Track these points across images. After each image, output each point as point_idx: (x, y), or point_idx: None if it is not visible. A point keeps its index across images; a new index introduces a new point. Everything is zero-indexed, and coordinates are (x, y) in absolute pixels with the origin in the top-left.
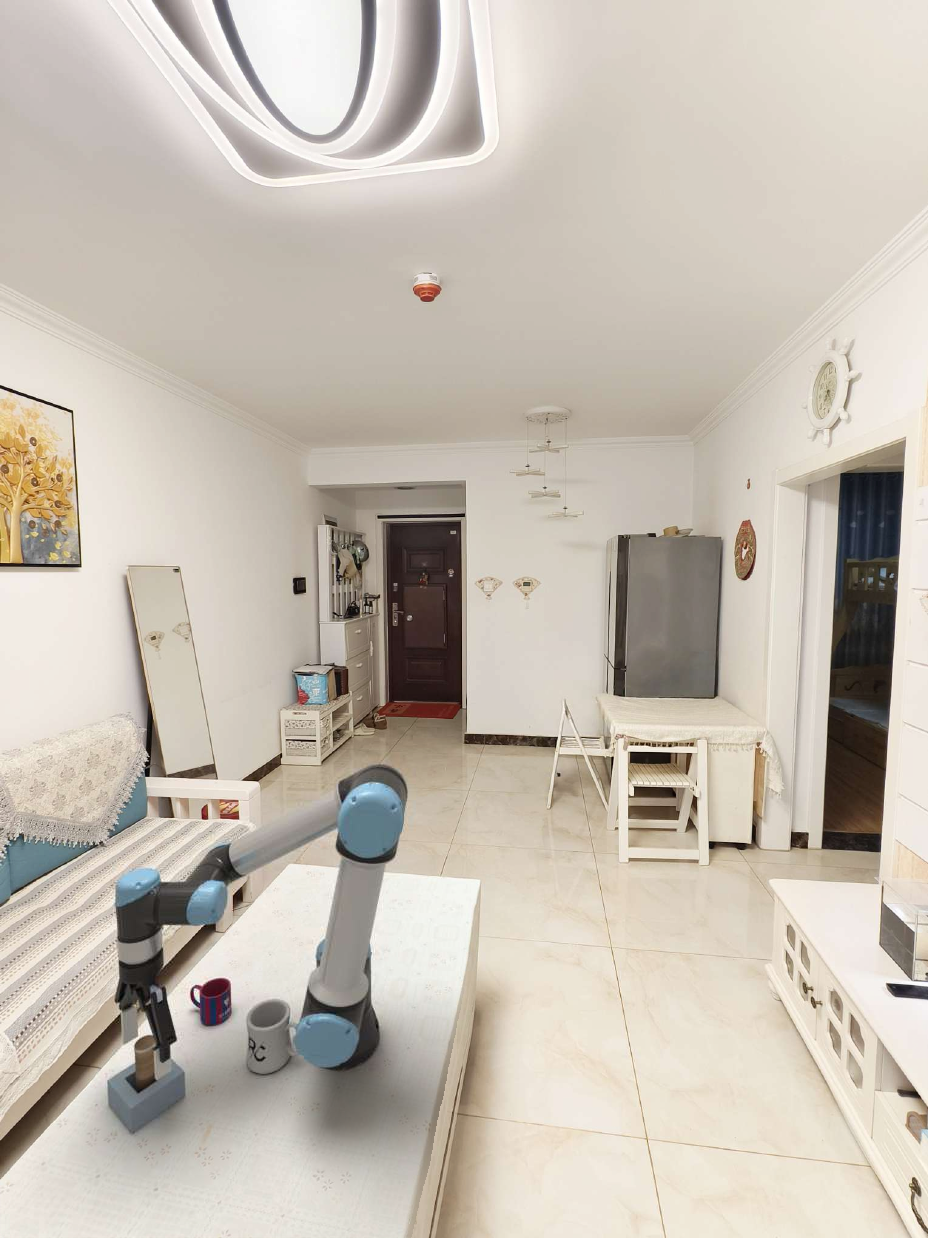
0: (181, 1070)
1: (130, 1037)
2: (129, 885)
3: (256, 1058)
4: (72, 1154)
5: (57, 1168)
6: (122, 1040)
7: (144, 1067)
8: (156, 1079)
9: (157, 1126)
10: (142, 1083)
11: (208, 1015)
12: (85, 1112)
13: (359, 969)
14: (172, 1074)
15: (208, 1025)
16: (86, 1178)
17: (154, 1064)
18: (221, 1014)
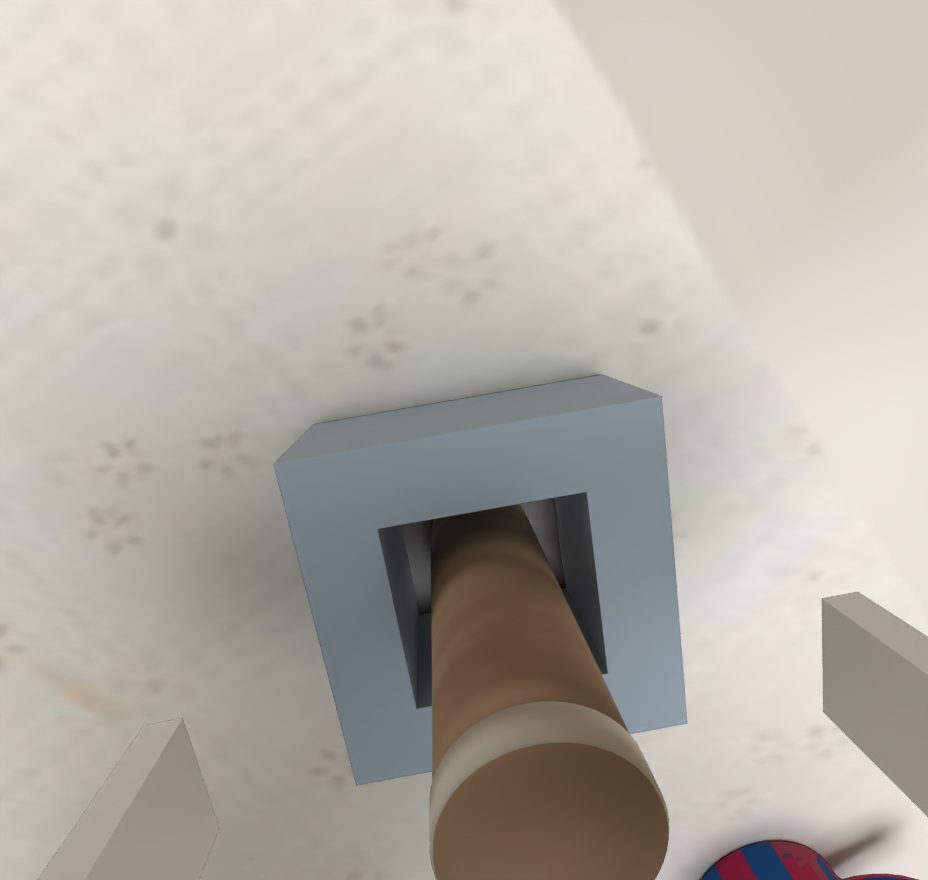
0: (381, 775)
1: (851, 676)
2: None
3: None
4: (403, 148)
5: (364, 60)
6: (879, 610)
7: (439, 661)
8: (149, 729)
9: (279, 531)
10: (444, 574)
11: None
12: (642, 266)
13: None
14: (384, 730)
15: (724, 862)
16: (190, 176)
17: (93, 860)
18: None
